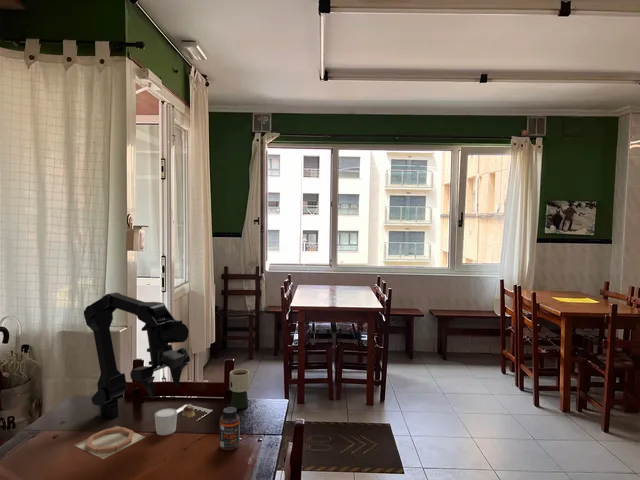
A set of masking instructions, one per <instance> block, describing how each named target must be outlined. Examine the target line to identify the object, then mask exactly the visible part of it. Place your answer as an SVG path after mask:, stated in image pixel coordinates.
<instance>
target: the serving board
mask: <svg viewBox="0 0 640 480" xmlns="http://www.w3.org/2000/svg"><path fill="white" fill-rule="evenodd" d="M120 427H121V426H119V425H115V426H113V427H112V428H120ZM128 436H129V435H127V434H124V433H122V432H118V433H109V434H105V435H103V436H101V437H99V438H96V439H94V441H93V443H92V444H93V445H95V446H97V447H106V446H115V445H117V444H119V443H121V442H123V441H125V440H127V439H128ZM145 438H146V436H144V435H141V434H139V433H136V432H134V436H133V439H132V442H131V443H130V444H128V445H126V446H124V447H122V448H120V449H118V450H115V451H110V452H102V453H97V452H96V453H95V452H93V451H91V450H88V449H86V443H87V441H88V439H89V438H86V439H85V440H82V441H80V442H78V443H75V444H74V445H73V446H74V447H77V448H79V449H81V450H82V451H85V452H87V453H89V454H92V455H93V456H95V457H97V458H100V459H102V460H104V459H106V458H108V457H110V456H113V455H114V454H116V453H118V452H120V451H123V450H124V449H126V448H128V447H129V446H132V445H133V444H136V443H138V442H140V441H141V440H143V439H145Z"/></svg>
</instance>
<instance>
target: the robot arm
mask: <svg viewBox="0 0 640 480" xmlns="http://www.w3.org/2000/svg"><path fill="white" fill-rule="evenodd" d="M117 309H118V310H120V311H123V312H126V313H129V314H132V315H135V316H136V317H137V319H138V320H139V321H140V322H143V323H145V324H144V325H143V327H142V328H141V332H146V335H147V342H148V348H146V352H147V353H149V356H150V361H148V366H146V365H145V366H144V365H142V366H138V367H136V368H133V369H131V371H130V380H133V381H135V382H139V383H140V384H141V386H142V387H143V388H144V390H145V391H146V392H147V394H148V395H149V397H150V399H155V394H156V393H155V387H154V380H155V378H156V376H155V375H154V374H155V372H156V371H160V370H162V369H164V368H167V367H168V369H169V370H170V374H171V378H172V381H173V385H174V387H175V388H176V389H178V388H179V386H180V383H181V382H180V381H181V376H182V373H183V369H184V368H185V367H186V366H187V365H189V362H191V356H190V354H188V352H187V351H188V350H187V348H185V347H180V348H179V349H178V350H177V349H175V350H174V349H173V345H172V344H176V343H177V344H179V343H185V342H186V341H187V339H188V338H189V334H190V333H189V328H188V326H187V325H186V324H184V323H183V320H182V319H178V320H177V319H176V318H175V316H173V314H172V313H171V312H170V311H169V310H168V308H167V307H166V304H165V303H164V302H161V301H160V302H159V301H158V302H157V301H143V300H139V299H137V298H134V297H130V296H127V295H123V294H121V293H120V292H112V293H111V292H110V293H106V294H105V295H103V296H102V297H101V298H99V299H98V300H96V301H94V302H93V303H91V304H89V305H87V306H86V307H85V309H84V310H83V317H84V320H85V323H86V326H87V327H88V328H89V329H90V330H91V331H92V332H93V338H94V343H95V347H96V353H97V358H98V365H99V370H100V375H99V377H98V378H99V379H98V381H97V386H96V387H97V391H96V392H95V393H94V394H93V396H92V397H91V403H92V405H93V406H97V407H98V409H97V411H98V418H99V419H101V420H114V419H117V418H119V417H120V414H119V413H120V411H119V410H120V409H119V400H120V399H122V398H124V396H125V392H126V391H127V385H128V383H127V380H126V374H125V373H124V372H120V371H119V370H118V367H117V361H116V355H115V351H114V346H113V345H114V344H113V340H112V334H111V328H110V327H111V325H112V323H113V320H114V315H113V313H114V312H115V311H116V310H117ZM153 375H154V376H153Z"/></svg>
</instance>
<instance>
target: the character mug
mask: <svg viewBox="0 0 640 480" xmlns="http://www.w3.org/2000/svg"><path fill="white" fill-rule="evenodd" d="M229 390H230V391H231V392H232V394H231V399H230V400H231V401H230V407H234V408H236V409H237V410H240V409H241V410H242V409H246V408H247V407H248V406H249V399H248V392H247V391H249V390H250V370H248V369H246V368H236V369H233V370H231V371H230V372H229Z"/></svg>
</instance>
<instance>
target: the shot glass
mask: <svg viewBox="0 0 640 480" xmlns="http://www.w3.org/2000/svg"><path fill="white" fill-rule="evenodd" d="M177 420H178V413H177V409H176V408H162V409H160V410H157V411H155V413H154V422H155V432H156V434H157V435H158V436H159V435H160V436H168V435H171V434H173V433H175V432H176V430H177Z"/></svg>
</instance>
